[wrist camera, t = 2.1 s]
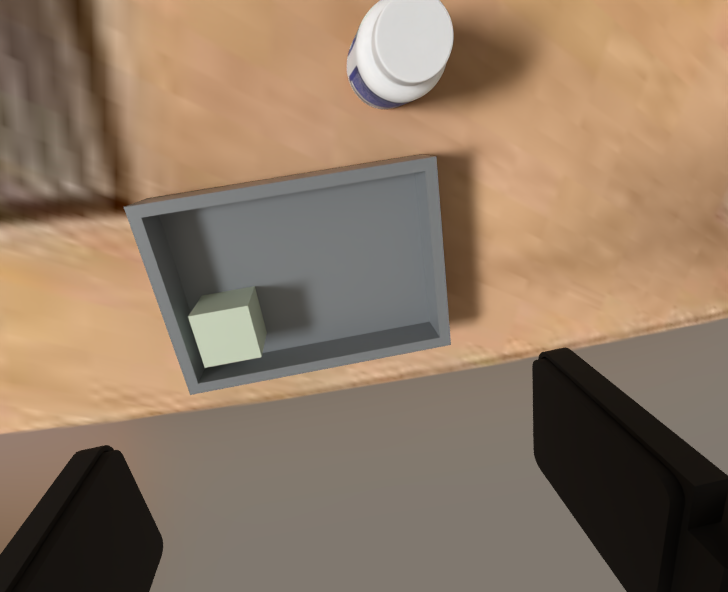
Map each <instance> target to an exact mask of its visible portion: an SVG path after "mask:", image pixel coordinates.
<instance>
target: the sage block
mask: <svg viewBox="0 0 728 592" xmlns="http://www.w3.org/2000/svg"><path fill="white" fill-rule="evenodd" d="M188 318H189V321H190V324H191V327H192V330H193V333H194V337H195V340H196V343H197V346H198V349H199V352H200V355H201V358H202V361H203V364H204V367H205V368H207V367H212V366H217V365H222V364H228V363H233V362H238V361H244V360H249V359H254V358H260V357H262V353H263V348H264V344H265V339H266V334H267V332H266V328H265V324H264V320H263V316H262V312H261V308H260V304H259V301H258V297H257V293H256V289H255V286H253V287H247V288H242V289H236V290H230V291H225V292H219V293H214V294H208V295H202V296H201V298H200V299H199V301H198V302H197V304H196V305H195V307H194V308H193V310H192V311H191V313H190V314H189V316H188Z"/></svg>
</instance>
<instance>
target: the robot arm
mask: <svg viewBox="0 0 728 592" xmlns="http://www.w3.org/2000/svg"><path fill="white" fill-rule="evenodd" d="M533 432H534V433H533V437H534V456H535V459H536V462H537V464H538V466H539V468H540V469H541V471H542V472H543V474H544V475H545V477H546V478H547V479H548V481H549V482H550V484H551V485H552V486H553V488H554V489H555V491H556V492H557V494H558V495H559V496H560V498H561V499H562V501H563V502H564V503H565V505H566V506H567V508H568V509H569V510H570V512H571V513H572V515H573V516H574V518H575V519H576V521H577V522H578V523H579V525H580V526H581V527H582V529H583V530H584V532H585V533H586V534H587V536H588V538H589V539H590V540H591V542H592V543H593V545H594V546H595V547H596V549H597V550H598V552H599V553H600V555H601V556H602V557H603V559H604V560H605V562H606V563H607V564H608V565H609V567H610V568H611V570H612V571H613V573H614V574H615V576H616V577H617V578H618V580H619V581H620V583H621V584H622V586H623V587H624V588H625V590H626V591H627V592H728V475H726V474H725V473H724V472H722V471H721V470H720V469H719V468H718V467H716V466H715V465H714V464H713V463H711V462H710V461H709V460H708V459H706V458H705V457H704V456H703V455H701V454H700V453H699V452H697V451H696V450H695V449H694V448H693V447H691V446H690V445H689V444H688V443H686V442H685V441H684V440H683V439H681V438H680V437H679V436H678V435H676V434H675V433H674V432H672V431H671V430H670V429H669V428H667V427H666V426H665V425H664V424H663V423H661V422H660V421H659V420H657V419H656V418H655V417H654V416H653V415H651V414H650V413H649V412H648V411H646V410H645V409H644V408H643V407H641V406H640V405H639V404H638V403H636V402H635V401H634V400H633V399H631V398H630V397H629V396H628V395H626V394H625V393H624V392H622V391H621V390H620V389H619V388H618V387H616V386H615V385H614V384H613V383H611V382H610V381H609V380H608V379H606V378H605V377H604V376H602V375H601V374H600V373H599V372H597V371H596V370H595V369H594V368H593V367H591V366H590V365H589V364H588V363H586V362H585V361H584V360H583V359H581V358H580V357H579V356H578V355H576V354H575V353H574V352H573V351H571V350H570V349H568V348H560V349H555V350H551V351H546V352H542V353H541V354H540V355H539V359H538V360H535V361H534V362H533ZM162 551H163V540H162V537H161V534H160V532H159V530H158V528H157V526H156V523H155V521H154V519H153V517H152V515H151V513H150V511H149V509H148V507H147V505H146V503H145V500H144V498H143V496H142V494H141V492H140V490H139V488H138V486H137V484H136V482H135V479H134V477H133V475H132V473H131V471H130V469H129V467H128V465H127V463H126V461H125V458H124V456H123V454H122V453H121V452H120V451H119V450H114V449H113V448H112V447H110V446H108V445H105V446H100V447H95V448H91V449H86V450H81V451H78V452H76V454H74V455H73V457H72V458H71V459H70V461H69V462H68V464H67V465H66V466H65V467H64V469H63V470H62V472H61V473H60V474H59V476H58V477H57V478H56V480H55V481H54V482H53V484H52V485H51V486H50V488H49V489H48V491H47V492H46V493H45V495H44V496H43V497H42V499H41V500H40V501H39V503H38V504H37V505H36V507H35V508H34V510H33V511H32V512H31V514H30V515H29V517H28V518H27V519H26V520H25V522H24V523H23V524H22V526H21V527H20V529H19V530H18V531H17V533H16V534H15V535H14V537H13V538H12V540H11V541H10V542H9V543H8V545H7V546H6V548H5V549H4V550H3V552H2V553H1V554H0V592H149V591H150V588H151V585H152V582H153V579H154V576H155V573H156V570H157V567H158V565H159V562H160V559H161V556H162Z"/></svg>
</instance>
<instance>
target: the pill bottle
mask: <svg viewBox="0 0 728 592" xmlns="http://www.w3.org/2000/svg"><path fill="white" fill-rule="evenodd" d="M453 39H454V35H453V25H452V21H451V18H450V15H449V13H448V11H447V9H446V8H445V7H444V5H443V4H442V3H441V2H440V0H380V1H379V2H377V3H376V4H375V5H374V6H373V7H372V8H371V9H370V10H369V11H368V13H367V14H366V15H365V17H364V18H363V20H362V22H361V24H360V26H359V29H358V31H357V34H356V36H355V38H354V40H353V42H352V44H351V47H350V49H349V53H348V57H347V75H348V79H349V82H350V85H351V87H352V89H353V91H354V92H355V94H356V95H357V96H358V97H359V98H360V99H361V100H362V101H363V102H364V103H366V104H367V105H369V106H371V107H374V108H378V109H392V108H396V107H399V106H401V105H404V104H406V103H409V102H411V101H414V100H416V99H418V98H420V97H422V96H424V95H425V94H427V93H428V92H429V91H430V90H431V89H432V88H433V87H434V86H435V85H436V84H437V82H438V81H439V79H440V78H441V76H442V74H443V72H444V69H445V66H446V63H447V61H448V59H449V56H450V54H451V50H452V46H453Z"/></svg>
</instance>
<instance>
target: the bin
mask: <svg viewBox="0 0 728 592" xmlns="http://www.w3.org/2000/svg"><path fill="white" fill-rule="evenodd" d="M124 209H125V212H126V215H127V218H128V221H129V223H130V226H131V229H132V232H133V235H134V237H135V240H136V243H137V246H138V249H139V252H140V254H141V257H142V260H143V263H144V266H145V268H146V271H147V274H148V277H149V280H150V283H151V285H152V288H153V291H154V294H155V297H156V299H157V302H158V305H159V308H160V311H161V314H162V316H163V319H164V322H165V325H166V328H167V330H168V333H169V336H170V339H171V342H172V344H173V347H174V350H175V353H176V356H177V359H178V361H179V364H180V367H181V370H182V373H183V375H184V378H185V381H186V384H187V387H188V390H189V392H190V395H192V394H197V393H203V392H208V391H213V390H218V389H223V388H229V387H234V386H239V385H244V384H249V383H255V382H260V381H265V380H270V379H275V378H281V377H286V376H291V375H296V374H301V373H307V372H312V371H317V370H322V369H328V368H333V367H338V366H343V365H348V364H354V363H359V362H364V361H369V360H374V359H380V358H385V357H390V356H395V355H400V354H406V353H411V352H416V351H421V350H426V349H432V348H437V347H442V346H447V345H451V340H450V327H449V314H448V301H447V288H446V275H445V262H444V249H443V236H442V223H441V210H440V197H439V184H438V171H437V158H436V156H430V155H423V154H419V155H413V156H407V157H400V158H394V159H388V160H382V161H376V162H370V163H363V164H357V165H351V166H345V167H339V168H332V169H326V170H320V171H314V172H308V173H301V174H295V175H289V176H283V177H277V178H271V179H264V180H258V181H252V182H246V183H240V184H233V185H227V186H221V187H215V188H209V189H202V190H196V191H190V192H184V193H178V194H172V195H165V196H159V197H153V198H147V199H144V200H141V201H139V202H136V203H133V204H131V205H128V206H126V207H124ZM253 286H255V289H256V293H257V297H258V301H259V304H260V308H261V312H262V316H263V320H264V324H265V328H266V332H267V334H266V339H265V344H264V348H263V353H262V357H260V358H254V359H249V360H244V361H238V362H233V363H228V364H222V365H217V366H212V367H207V368H205V367H204V364H203V361H202V358H201V355H200V352H199V349H198V346H197V343H196V340H195V337H194V333H193V330H192V327H191V324H190V321H189V318H188V316H189V314H190V313H191V311H192V310H193V308H194V307H195V305H196V304H197V302H198V301H199V299H200V298H201V296H202V295H208V294H214V293H219V292H225V291H230V290H236V289H242V288H247V287H253Z"/></svg>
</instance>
